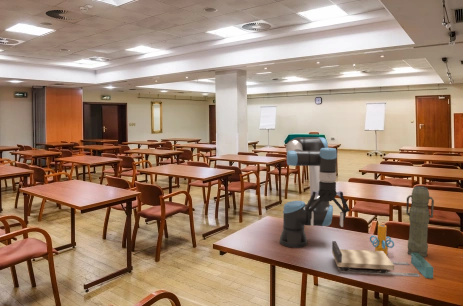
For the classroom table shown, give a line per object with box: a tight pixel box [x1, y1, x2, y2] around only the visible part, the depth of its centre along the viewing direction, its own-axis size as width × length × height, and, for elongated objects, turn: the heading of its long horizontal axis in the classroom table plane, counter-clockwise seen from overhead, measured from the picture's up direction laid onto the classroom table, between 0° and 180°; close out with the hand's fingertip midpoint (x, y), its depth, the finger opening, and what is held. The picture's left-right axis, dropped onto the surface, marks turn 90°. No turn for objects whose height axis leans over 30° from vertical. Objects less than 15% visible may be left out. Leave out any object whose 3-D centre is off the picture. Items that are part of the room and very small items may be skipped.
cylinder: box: [369, 224, 395, 257], centre depth 170 cm, size 12×10×15 cm
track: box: [334, 253, 435, 279], centre depth 154 cm, size 39×16×5 cm, turn 82°
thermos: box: [405, 185, 435, 259], centre depth 168 cm, size 9×12×35 cm
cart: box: [331, 240, 395, 273], centre depth 155 cm, size 24×16×8 cm, turn 82°
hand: (326, 225), depth 156 cm, fingers open, 13 cm apart
